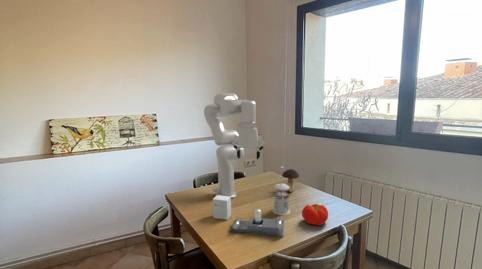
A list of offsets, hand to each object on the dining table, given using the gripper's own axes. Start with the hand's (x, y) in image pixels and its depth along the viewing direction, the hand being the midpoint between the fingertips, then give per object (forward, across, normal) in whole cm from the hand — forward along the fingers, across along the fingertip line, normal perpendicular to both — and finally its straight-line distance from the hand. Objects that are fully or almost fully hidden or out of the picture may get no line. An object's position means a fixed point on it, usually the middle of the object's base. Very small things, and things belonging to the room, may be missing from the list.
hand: (248, 158), depth 138 cm
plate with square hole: (+30, +7, -16) cm, 35 cm away
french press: (+31, +17, +7) cm, 36 cm away
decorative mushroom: (+31, +21, +35) cm, 51 cm away
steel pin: (+30, +7, -16) cm, 35 cm away
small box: (+31, -13, -6) cm, 34 cm away
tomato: (+31, +34, -4) cm, 46 cm away
